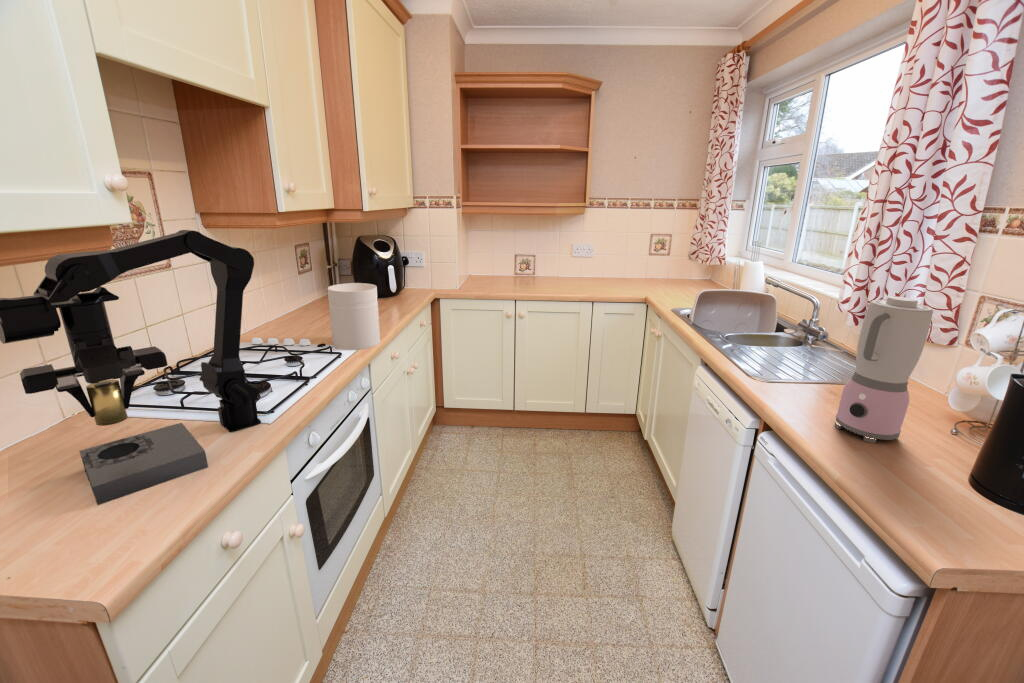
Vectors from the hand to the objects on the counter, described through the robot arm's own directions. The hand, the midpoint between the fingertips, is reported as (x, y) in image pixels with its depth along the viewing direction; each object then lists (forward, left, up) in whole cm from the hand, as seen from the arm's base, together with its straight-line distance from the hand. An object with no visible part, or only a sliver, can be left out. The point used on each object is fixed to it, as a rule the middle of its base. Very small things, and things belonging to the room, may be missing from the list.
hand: (109, 412), depth 83 cm
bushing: (0, 0, -2) cm, 2 cm away
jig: (-3, +3, -12) cm, 12 cm away
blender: (-120, +100, -12) cm, 157 cm away
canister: (-71, -41, -12) cm, 83 cm away
